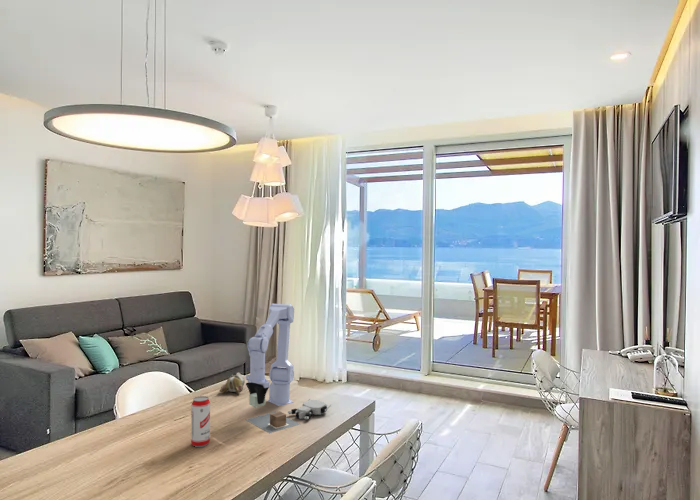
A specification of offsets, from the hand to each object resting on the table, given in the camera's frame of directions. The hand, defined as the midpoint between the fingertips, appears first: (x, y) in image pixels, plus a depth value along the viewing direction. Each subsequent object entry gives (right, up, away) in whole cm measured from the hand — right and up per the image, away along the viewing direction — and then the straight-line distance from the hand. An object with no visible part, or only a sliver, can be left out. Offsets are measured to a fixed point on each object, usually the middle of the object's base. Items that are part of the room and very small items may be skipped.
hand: (257, 401), depth 185 cm
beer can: (-15, -8, -22) cm, 28 cm away
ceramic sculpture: (-19, -8, +39) cm, 45 cm away
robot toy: (+20, -8, +8) cm, 23 cm away
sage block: (0, -1, 0) cm, 1 cm away
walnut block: (+9, -7, -4) cm, 12 cm away
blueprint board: (+6, -8, -1) cm, 10 cm away
